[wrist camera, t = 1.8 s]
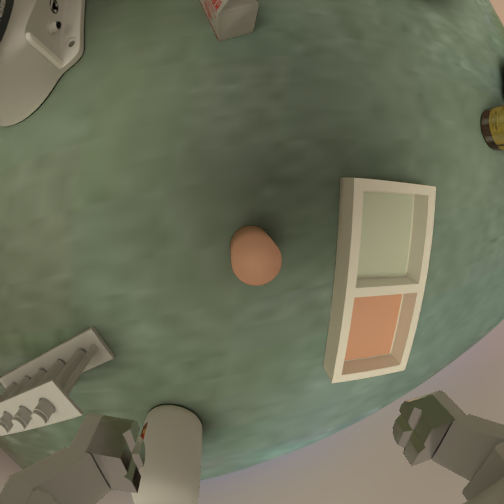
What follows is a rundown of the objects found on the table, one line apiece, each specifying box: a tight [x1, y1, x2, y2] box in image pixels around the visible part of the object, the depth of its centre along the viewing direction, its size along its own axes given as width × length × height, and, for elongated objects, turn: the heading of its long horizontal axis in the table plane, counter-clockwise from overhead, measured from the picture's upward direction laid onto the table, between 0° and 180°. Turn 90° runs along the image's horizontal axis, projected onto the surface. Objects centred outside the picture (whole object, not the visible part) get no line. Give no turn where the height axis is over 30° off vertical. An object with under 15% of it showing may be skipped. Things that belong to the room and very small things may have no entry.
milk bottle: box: [131, 405, 202, 504], centre depth 24 cm, size 8×8×20 cm
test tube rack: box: [0, 326, 115, 436], centre depth 25 cm, size 25×4×13 cm, turn 117°
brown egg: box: [230, 225, 282, 285], centre depth 27 cm, size 4×4×6 cm
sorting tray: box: [323, 178, 436, 383], centre depth 30 cm, size 22×10×4 cm, turn 179°
